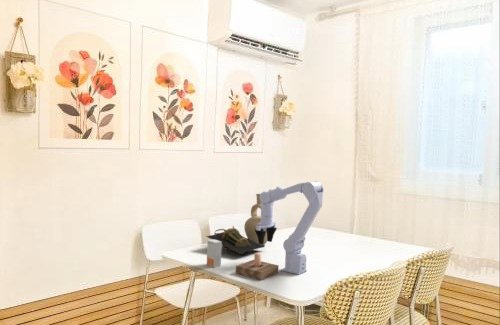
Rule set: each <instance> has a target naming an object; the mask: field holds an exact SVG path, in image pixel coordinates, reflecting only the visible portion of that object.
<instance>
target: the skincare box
mask: <svg viewBox="0 0 500 325" xmlns="http://www.w3.org/2000/svg"><path fill="white" fill-rule="evenodd" d="M206 247H207V249H206V250H207V251H206V265H207V266H210V267H211V268H219V267H221V265H222V247H223V245H222V242H221V241H218V240H215V239H213V240H212V239H208V240H207V246H206Z"/></svg>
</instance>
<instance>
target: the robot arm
mask: <svg viewBox="0 0 500 325" xmlns="http://www.w3.org/2000/svg"><path fill="white" fill-rule="evenodd" d="M324 192H325V190H324V186H323V185H322V183H321V182H319V181H318V180H317V181H306V182H300V183H296V184H293V185H291V186H287V187H286V188H284V187H283V186H276V188H274V189H271V188H270V189H268V190H267V191H262V192H261V193H259V194H260V196H259V199H260V201H261V209H260V216H261V223H259V225H258V226H256V229H255V232H256V234H257V237H258V241H259V244H262V246H264V245H263V243H264V237H265V234H266V231H267V242H268V243H272V241H273V239H274V236H275V232H276V231H277V230H278V228H277V226H276V222H273V209H274V208H273V207H274V202H277V201H279V200H280V201H281V200H283V199H286V198H287V196H288V195H291V194H296V193H300V194H303V196H304V197H305V198H306V199H307V202H308V206H307V208H306V209H305V211H304V213H303V215H302V217H301V218H300V220H299V222H298V224H297V225H296V228H295V229H294V231H293V232H292V233H291V234H290V235H289V236H288V238H287V239H285V240H284V241H283V244H282V245H283V250H284V252H285V257H284V258H285V262H284V267H283V268H281V271H283V272H286V273H291V274H294V275H301V274H303V273H305V272H307V256H306V254H305V253H302V249H303V247H304V246H305V241H306V235H307V233H308V232H309V229H310V227H311V226H312V224H313V222H314V220H315V218H316V217H317V215H318V213H319V212H320V210H321V209H322V207H323V194H324ZM263 229H266V231H264V230H263Z"/></svg>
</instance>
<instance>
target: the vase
mask: <svg viewBox="0 0 500 325" xmlns="http://www.w3.org/2000/svg"><path fill="white" fill-rule="evenodd" d="M260 194H261V193H256V194H255V195H256V203H255V204H253V205H252V206H251V208H250V217H249V218H248V219H247V220H245V222H244V232H245V235H246V238H247V239H249V240H252V241H254V242H256V243H258V244H259V241H258V237H257V234H256V232H255V229H256V226H258V225H259V223H261V215H258V209H260V210H261V201H260V199H259V196H260ZM263 230H264V231H266V229H263ZM267 242H268V241H267V231H266V234H265V237H264V243H263V245H262V244H260V245H262V246H265V244H266V243H267Z"/></svg>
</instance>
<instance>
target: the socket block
mask: <svg viewBox="0 0 500 325" xmlns="http://www.w3.org/2000/svg"><path fill="white" fill-rule="evenodd" d="M278 273H279V265H278V264H274V263H270V262H266V261H261V266H260V267H259V268H258V267H254V259H251V260H248V261H246V262H242V263H240V264H237V265H235V274H237V275H241V276H244V277H248V278H252V279H256V280H259V281H263V280H266V279H268V278H270V277H272V276H274V275H277V274H278Z"/></svg>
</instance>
